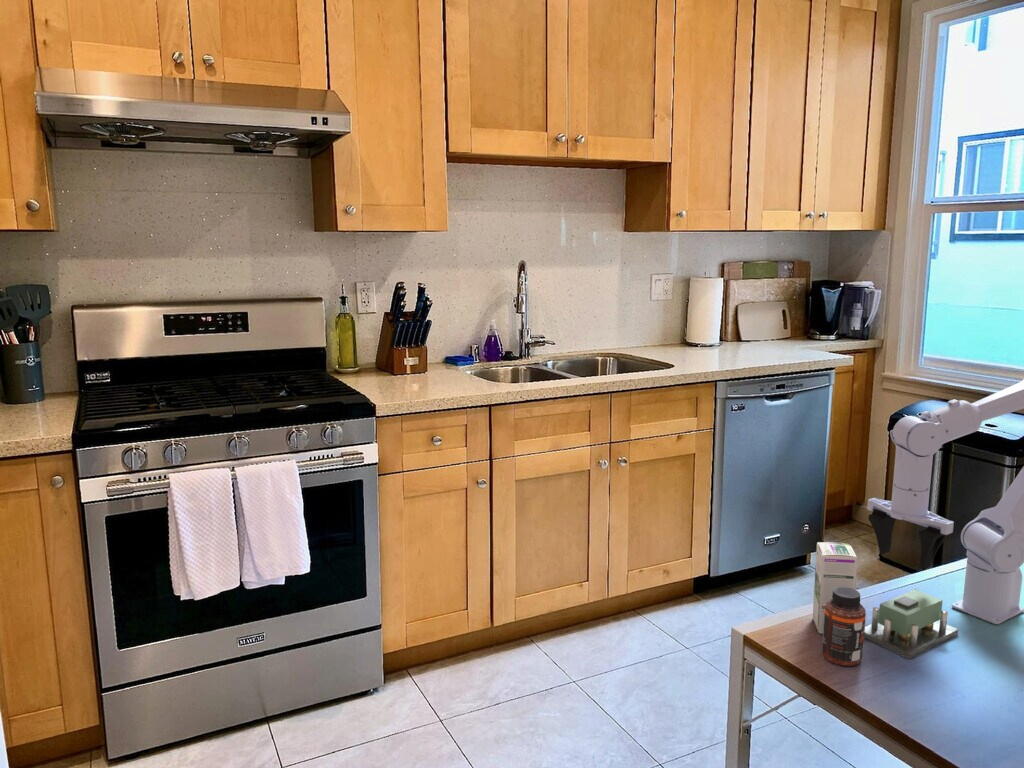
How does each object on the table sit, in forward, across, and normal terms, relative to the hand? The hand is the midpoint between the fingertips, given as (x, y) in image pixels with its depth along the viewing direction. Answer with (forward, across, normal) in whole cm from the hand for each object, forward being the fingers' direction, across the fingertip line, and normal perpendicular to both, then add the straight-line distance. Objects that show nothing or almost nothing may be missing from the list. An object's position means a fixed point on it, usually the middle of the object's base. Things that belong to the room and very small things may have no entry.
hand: (904, 559), depth 136 cm
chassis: (+10, +6, -6) cm, 13 cm away
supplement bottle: (+10, +4, -22) cm, 25 cm away
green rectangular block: (+7, +6, -6) cm, 11 cm away
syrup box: (+10, -3, -15) cm, 18 cm away
